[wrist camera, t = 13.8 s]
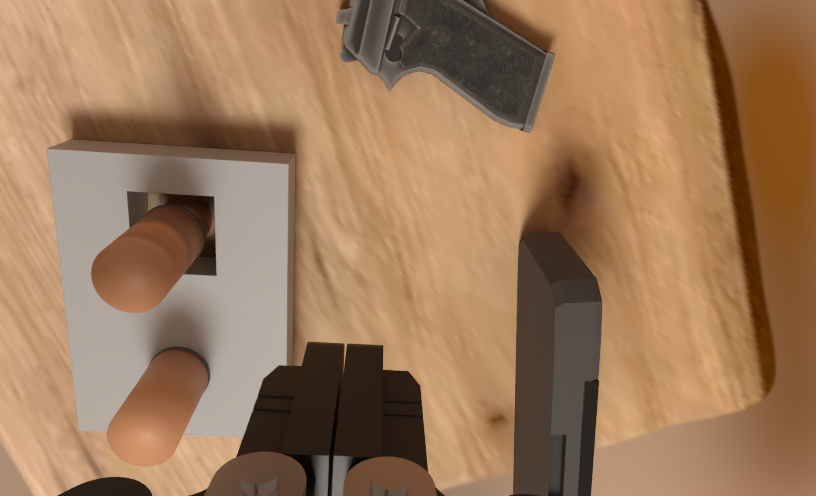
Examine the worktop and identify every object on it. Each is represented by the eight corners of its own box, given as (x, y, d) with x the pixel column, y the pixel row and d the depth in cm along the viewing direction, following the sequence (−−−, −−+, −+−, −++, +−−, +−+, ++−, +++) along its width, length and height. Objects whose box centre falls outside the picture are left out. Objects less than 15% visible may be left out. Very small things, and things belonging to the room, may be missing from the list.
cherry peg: (155, 188, 39) (86, 239, 30) (217, 192, 39) (167, 243, 30) (159, 246, 40) (93, 312, 31) (219, 250, 40) (171, 315, 31)
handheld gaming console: (548, 516, 48) (587, 637, 39) (512, 518, 48) (542, 640, 39) (560, 225, 41) (613, 287, 31) (517, 227, 41) (556, 290, 31)
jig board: (72, 139, 38) (-26, 176, 29) (295, 153, 38) (268, 194, 29) (98, 404, 44) (24, 503, 35) (292, 412, 44) (268, 511, 35)
